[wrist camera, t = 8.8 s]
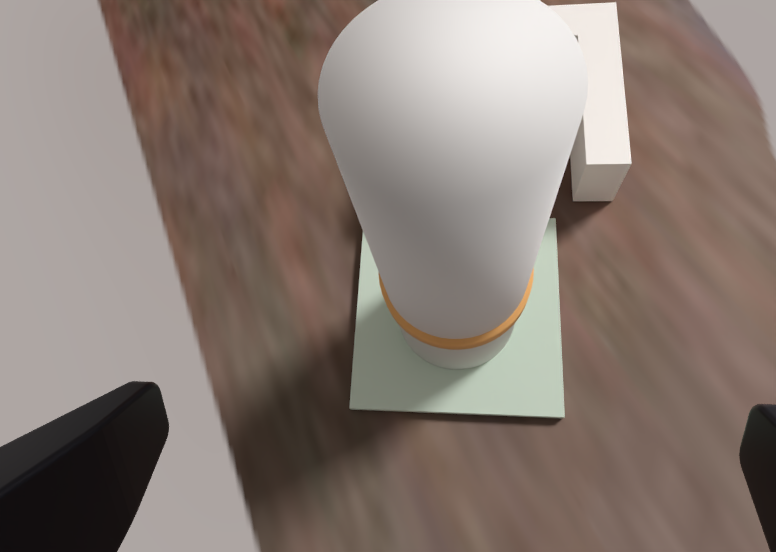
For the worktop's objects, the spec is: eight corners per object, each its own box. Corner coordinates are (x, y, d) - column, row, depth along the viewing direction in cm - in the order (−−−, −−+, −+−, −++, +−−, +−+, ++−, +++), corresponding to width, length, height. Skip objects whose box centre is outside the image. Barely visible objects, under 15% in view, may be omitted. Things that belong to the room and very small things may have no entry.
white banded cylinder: (543, 339, 22) (658, 127, 9) (428, 395, 22) (378, 260, 9) (482, 235, 24) (506, -67, 11) (375, 286, 24) (270, 41, 11)
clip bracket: (612, 200, 24) (631, 163, 21) (402, 202, 25) (394, 167, 23) (600, 52, 27) (615, 2, 24) (410, 60, 28) (404, 13, 25)
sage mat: (562, 418, 22) (564, 417, 21) (351, 409, 23) (349, 408, 22) (554, 222, 24) (555, 218, 24) (365, 222, 25) (363, 218, 25)
